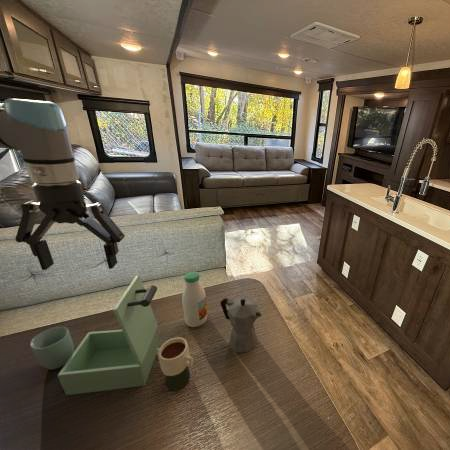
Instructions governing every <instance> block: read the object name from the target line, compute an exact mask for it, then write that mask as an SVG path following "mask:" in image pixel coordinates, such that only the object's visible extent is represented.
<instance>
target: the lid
mask: <svg viewBox="0 0 450 450" xmlns="http://www.w3.org/2000/svg"><path fill="white" fill-rule="evenodd" d="M126 288H127V289H126V290H125V291H124V292H123V294H122V295H121V297H120V299H118V302H117V303H116V304H115V306H114V308H113V309H112V311H113V313H114V315H115V318H116V320H117V322H118V325H119V327H120V330H122V331H123V333H124V335H125V338H126V340H127V342H128V344H129V346H130V348H131V351H132V353H133V355H134V357H135V359H136V362H137V364H138V366H139V365H142V363H143V360H144V358H145V355H146V353H147V351H148V348H149V346H150V343H151V341H152V338H153V336H154V334H155V331H156V329H157V330H158V326H159V324H158V322H157V319H156V316H155V314H154V311H153V308H152V306H151V303H152V301H153V300H154V296H155V295H156V293H157V291H158V286H156V285H153V284H151V285H149V286H148V287H147V288H145V287H144V284H143V281H142V278H141V276H140V274H136V275H135V277H134V278H133V279H132V281H131V283H130V284H129V285H128V287H126Z"/></svg>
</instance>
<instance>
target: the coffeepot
mask: <svg viewBox="0 0 450 450" xmlns="http://www.w3.org/2000/svg"><path fill="white" fill-rule="evenodd" d="M219 304H220V307H221V309H222V312H223V315H224V318H225V319H226V320H229V321H230V325H231V327H232V328H231V332H230V337H229V343H228V345H229V346H230V348H231V349H232V351H234V352H236V353H247V352H249V351H250V350H252V349H253V348H255V346H256V343H257V333H256V329H255V325H254V324H255V322H256V320H257V319H259V318H261V317H262V313H261V312H260V310H258V303H256V302H255V301H254V299H252V298H246V297H240V298H237V299H235V300H233V299H229V298H227V297H224V298H223V299H221V300H220V303H219ZM227 306H228V308H227Z"/></svg>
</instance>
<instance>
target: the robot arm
mask: <svg viewBox="0 0 450 450" xmlns="http://www.w3.org/2000/svg"><path fill="white" fill-rule="evenodd" d="M4 106H5V108H3V107H0V149H8V150H18V151H20V153H21V157H22V160H23V163H24V165H25V168H26V171H27V174H28V178H29V181H30V182H32V183H33V184H32V185H31V186H32V190H33V193H34V196H35V198H36V200H35V199H31V200H29V201H26V202H24V203H22V204H21V206H20V207H21V212H22V215H21V220H20V222H19V225H18V229H17V231H16V235H15V238H14V239H15V240H14V241H16V242H17V243H25V244H27V245H29V248H30V250H31V253H32V255H33V256H34V257H37V260H38V263H39V265H40V268H41V270H42V271H47V270H48V269H49V268H51V267H52V266H53V265H54V264H55V262H54V259H53V255H52V253H51V251H50V247H49V244H48V242H47V239H43V238H44V236H45V235H46V233H47V232H48V231H49V230H50V229H51V228H52V226H53V225H54V224H55V223H57V224H70V225H71V224H75V223H76V224H77V225H78V226H81V227H84V228H85V229H87V231H89V232H90V233H92V234H93V235H94V236H96V237H97V238H99V240H101V241H102V242H104V244H103V245H102V246H103V250H104V254H105V259H106V262H107V267H108V269H109V270H111V269H114V267H116V265H117V264H118V260H117V259H118V258H117V254H118V253H119V247H118V243H121V242H122V240H124V239H125V237H126V235H125V233H124V232H123V231H122V230H121V229H120V227H118V225H117V224H116V223H115V221H113V219H112V218H111V216H110V215H109V214H108V213H107V212H106V210H105V208H104V205H103V203H102V202H100V201H98V202H96V203H90V204H89V203H87V202H86V201H85V193H84V190H83V185H82V182H81V181H80V180H79V179H80V173H79V170H78V166H77V162H76V157H75V155H74V152H73V147H72V143H71V139H70V134H69V127H68V124H67V122H66V119H65V115H64V113H63V110H62V108H61V107H60V105H58V104H57V103H55V102H52V101H45V100H44V101H43V100H34V99H26V98H25V99H24V98H23V99H22V98H7V99H5V100H4ZM40 211H41V213H43V214H45V216H44V217H43V218H42V220H41V222H40V223H39V225H38V226H37V227H36V228H35V230H34V227H35V223H36V220H37V218H38V215H39V212H40ZM88 211H89V213H88ZM33 230H34V231H33Z"/></svg>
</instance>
